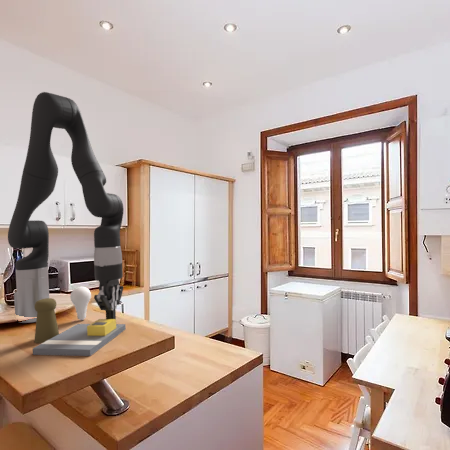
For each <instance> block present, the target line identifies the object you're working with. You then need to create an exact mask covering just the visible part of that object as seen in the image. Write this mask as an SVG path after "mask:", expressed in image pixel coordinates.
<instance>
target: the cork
mask: <svg viewBox="0 0 450 450" xmlns="http://www.w3.org/2000/svg"><path fill="white" fill-rule="evenodd" d="M56 308H57V301H56V299H54V298H53V297H49V298H45V299H41V300H38V301H37V302H36V303H35V310H36V312H37V320H36V322H35V332H34V340H33V342H34V343H36V344H42V343H44V342H45V341H47V340H49V339H51V338H53V337H55V336H57V335H58V334H60V331H59V327H58V326H59V325H58V322H57V316H56V310H55V309H56Z"/></svg>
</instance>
